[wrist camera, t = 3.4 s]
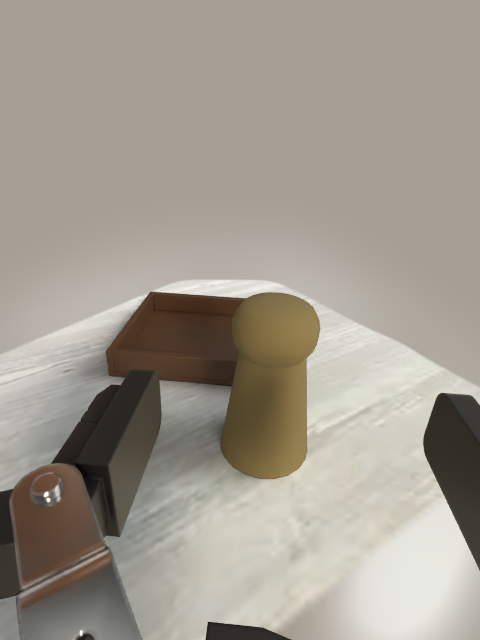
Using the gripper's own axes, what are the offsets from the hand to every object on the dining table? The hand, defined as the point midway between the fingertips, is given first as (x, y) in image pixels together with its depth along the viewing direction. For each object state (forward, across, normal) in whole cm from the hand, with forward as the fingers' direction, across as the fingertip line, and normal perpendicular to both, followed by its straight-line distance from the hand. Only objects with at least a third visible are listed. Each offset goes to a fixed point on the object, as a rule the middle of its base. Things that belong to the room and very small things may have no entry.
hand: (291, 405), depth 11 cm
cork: (+11, 0, +13) cm, 17 cm away
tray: (+24, +6, +12) cm, 28 cm away
